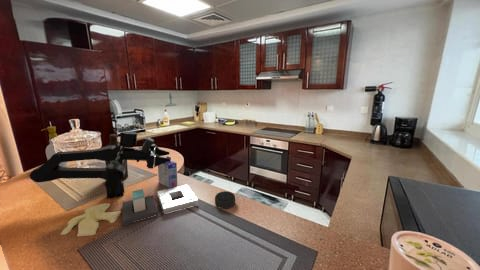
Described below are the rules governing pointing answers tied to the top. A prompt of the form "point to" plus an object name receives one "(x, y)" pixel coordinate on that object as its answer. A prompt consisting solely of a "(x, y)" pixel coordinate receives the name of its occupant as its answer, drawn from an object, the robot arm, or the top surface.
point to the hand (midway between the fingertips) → (169, 156)
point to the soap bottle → (50, 147)
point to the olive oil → (113, 142)
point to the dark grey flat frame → (131, 217)
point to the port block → (184, 202)
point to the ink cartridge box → (168, 173)
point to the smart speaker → (225, 199)
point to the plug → (138, 200)
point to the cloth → (91, 220)
